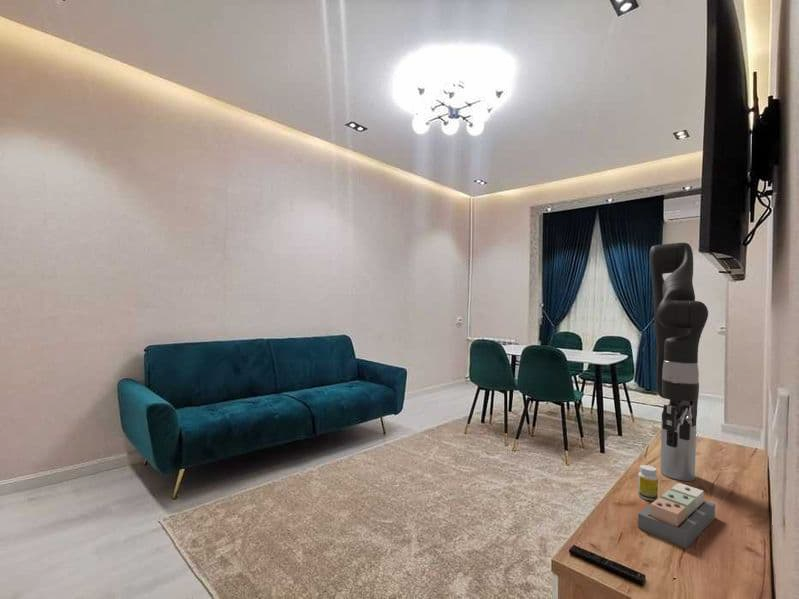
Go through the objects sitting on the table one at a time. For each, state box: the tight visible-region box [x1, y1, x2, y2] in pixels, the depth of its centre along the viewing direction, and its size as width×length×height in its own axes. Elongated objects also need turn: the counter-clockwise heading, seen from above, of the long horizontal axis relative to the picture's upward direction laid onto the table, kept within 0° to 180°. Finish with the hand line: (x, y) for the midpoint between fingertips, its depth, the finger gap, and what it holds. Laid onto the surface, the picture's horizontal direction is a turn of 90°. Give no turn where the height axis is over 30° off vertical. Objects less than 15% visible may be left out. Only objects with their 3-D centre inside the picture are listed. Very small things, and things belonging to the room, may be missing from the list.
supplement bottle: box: [637, 464, 659, 502], centre depth 113 cm, size 5×5×8 cm
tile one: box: [670, 482, 705, 509], centre depth 104 cm, size 6×6×3 cm
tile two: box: [660, 489, 695, 517], centre depth 100 cm, size 6×6×3 cm
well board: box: [637, 488, 716, 549], centre depth 100 cm, size 22×10×4 cm, turn 128°
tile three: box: [650, 496, 686, 527], centre depth 96 cm, size 6×6×3 cm
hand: (678, 442), depth 100 cm, fingers open, 8 cm apart
